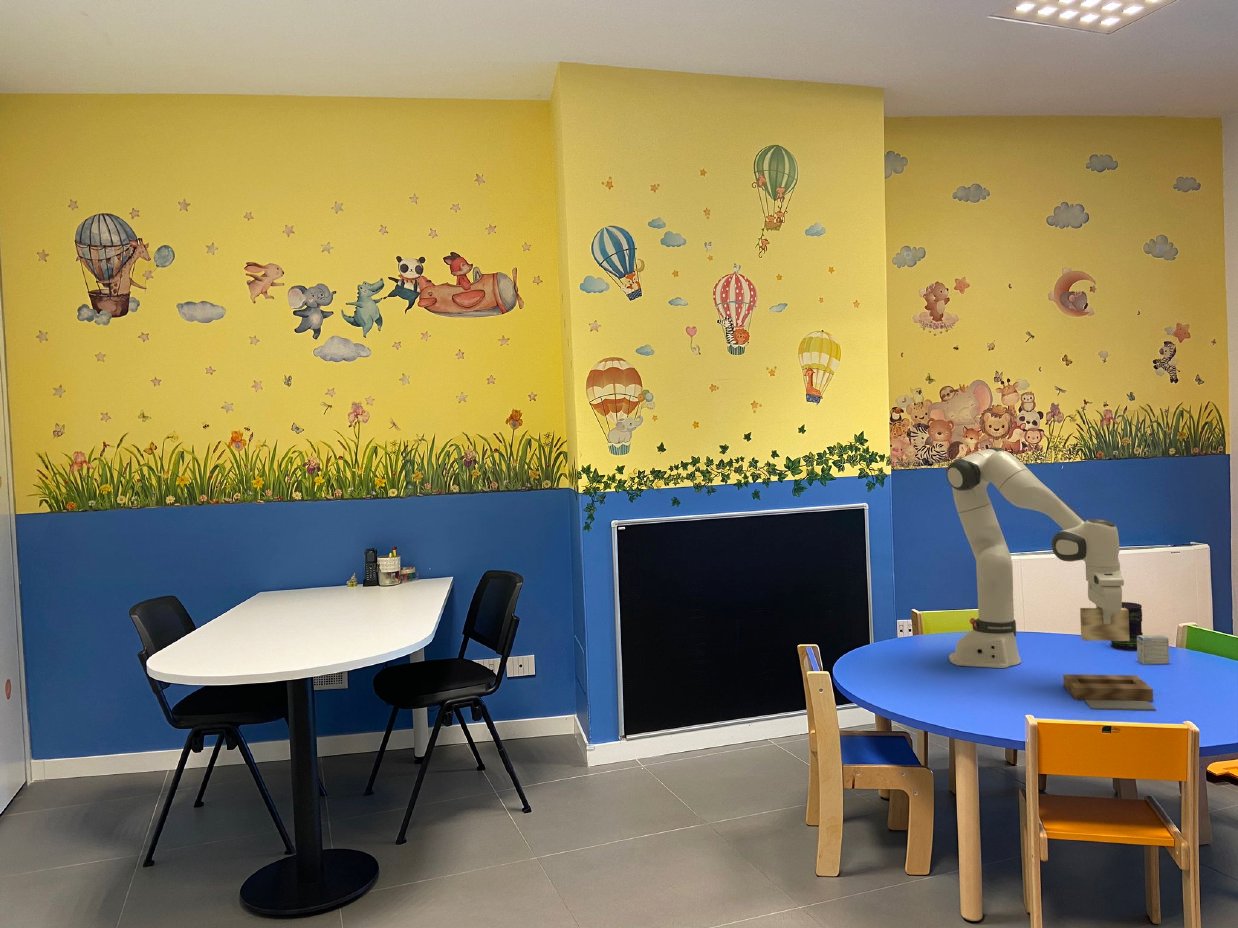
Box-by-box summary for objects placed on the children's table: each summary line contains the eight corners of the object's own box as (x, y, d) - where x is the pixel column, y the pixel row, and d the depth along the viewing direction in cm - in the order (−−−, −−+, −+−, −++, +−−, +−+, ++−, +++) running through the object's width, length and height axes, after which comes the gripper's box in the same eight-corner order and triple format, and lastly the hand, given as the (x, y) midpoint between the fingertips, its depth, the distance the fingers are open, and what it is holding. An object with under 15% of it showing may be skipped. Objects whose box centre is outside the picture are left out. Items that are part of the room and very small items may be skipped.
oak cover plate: (1083, 640, 258) (1082, 609, 258) (1081, 638, 261) (1080, 607, 261) (1129, 640, 255) (1128, 609, 255) (1126, 638, 258) (1125, 607, 258)
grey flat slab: (1091, 709, 245) (1091, 707, 245) (1084, 701, 252) (1084, 699, 252) (1155, 710, 241) (1155, 708, 241) (1147, 702, 248) (1147, 700, 248)
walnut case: (1075, 699, 254) (1075, 687, 254) (1063, 685, 268) (1063, 674, 268) (1153, 701, 249) (1152, 688, 249) (1137, 686, 263) (1136, 675, 263)
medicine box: (1162, 660, 289) (1161, 634, 288) (1169, 664, 284) (1168, 637, 284) (1137, 661, 289) (1136, 635, 289) (1143, 664, 285) (1142, 638, 285)
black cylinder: (1150, 649, 303) (1149, 606, 302) (1124, 652, 301) (1123, 608, 300) (1129, 642, 312) (1127, 601, 312) (1104, 645, 311) (1102, 603, 310)
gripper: (1081, 569, 268) (1082, 614, 269) (1100, 581, 248) (1102, 629, 249) (1104, 569, 267) (1105, 614, 267) (1125, 580, 247) (1127, 629, 247)
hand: (1104, 622), depth 258 cm, fingers closed on oak cover plate, 3 cm apart
